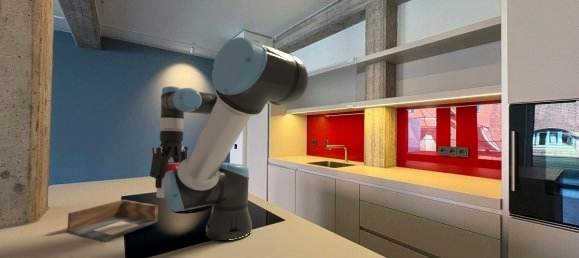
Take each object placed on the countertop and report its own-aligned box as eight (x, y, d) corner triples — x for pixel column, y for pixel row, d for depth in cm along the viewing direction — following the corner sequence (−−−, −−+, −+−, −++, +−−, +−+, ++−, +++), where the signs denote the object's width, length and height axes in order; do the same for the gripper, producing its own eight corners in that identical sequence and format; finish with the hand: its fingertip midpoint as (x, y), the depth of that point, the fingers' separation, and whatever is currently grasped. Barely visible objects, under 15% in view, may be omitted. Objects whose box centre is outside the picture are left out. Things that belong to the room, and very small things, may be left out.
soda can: (174, 199, 80) (175, 163, 81) (153, 198, 80) (155, 163, 81) (183, 194, 87) (185, 161, 88) (164, 194, 88) (166, 161, 88)
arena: (157, 221, 87) (158, 205, 87) (105, 242, 70) (106, 221, 70) (123, 215, 93) (123, 199, 93) (67, 232, 76) (68, 213, 76)
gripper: (184, 131, 96) (182, 188, 95) (138, 129, 77) (135, 200, 76) (199, 131, 93) (197, 190, 92) (155, 129, 74) (152, 202, 73)
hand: (169, 194), depth 84 cm, fingers closed on soda can, 7 cm apart
